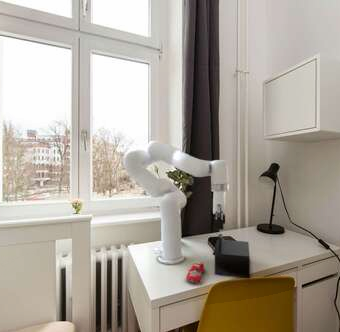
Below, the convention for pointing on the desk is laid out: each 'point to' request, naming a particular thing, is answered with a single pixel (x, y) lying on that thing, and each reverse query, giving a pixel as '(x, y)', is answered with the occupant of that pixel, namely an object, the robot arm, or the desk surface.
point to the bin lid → (231, 248)
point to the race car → (196, 273)
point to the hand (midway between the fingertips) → (220, 226)
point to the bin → (232, 266)
